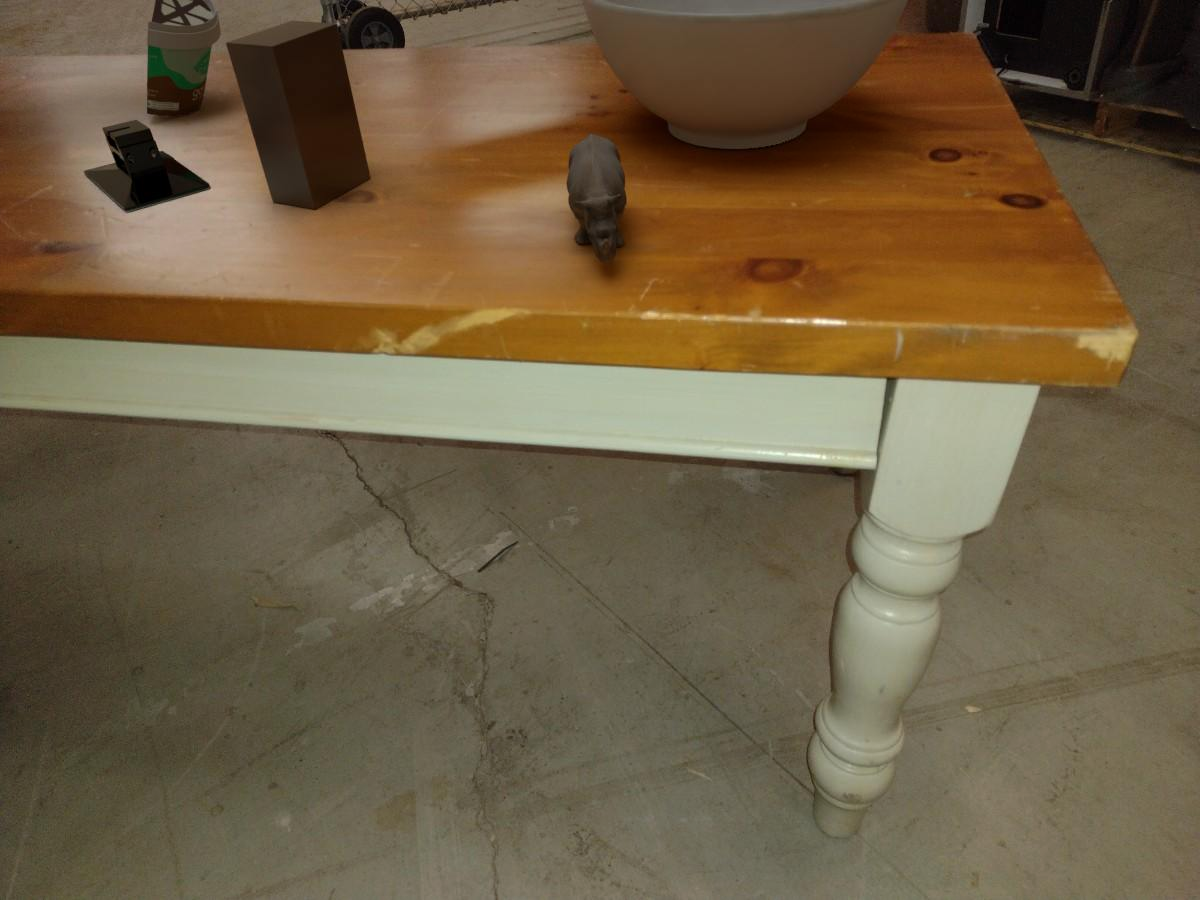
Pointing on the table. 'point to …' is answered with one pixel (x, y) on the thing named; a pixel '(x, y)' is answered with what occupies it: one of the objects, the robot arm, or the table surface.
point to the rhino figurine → (597, 194)
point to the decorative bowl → (740, 61)
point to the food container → (179, 55)
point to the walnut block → (301, 111)
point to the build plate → (141, 170)
